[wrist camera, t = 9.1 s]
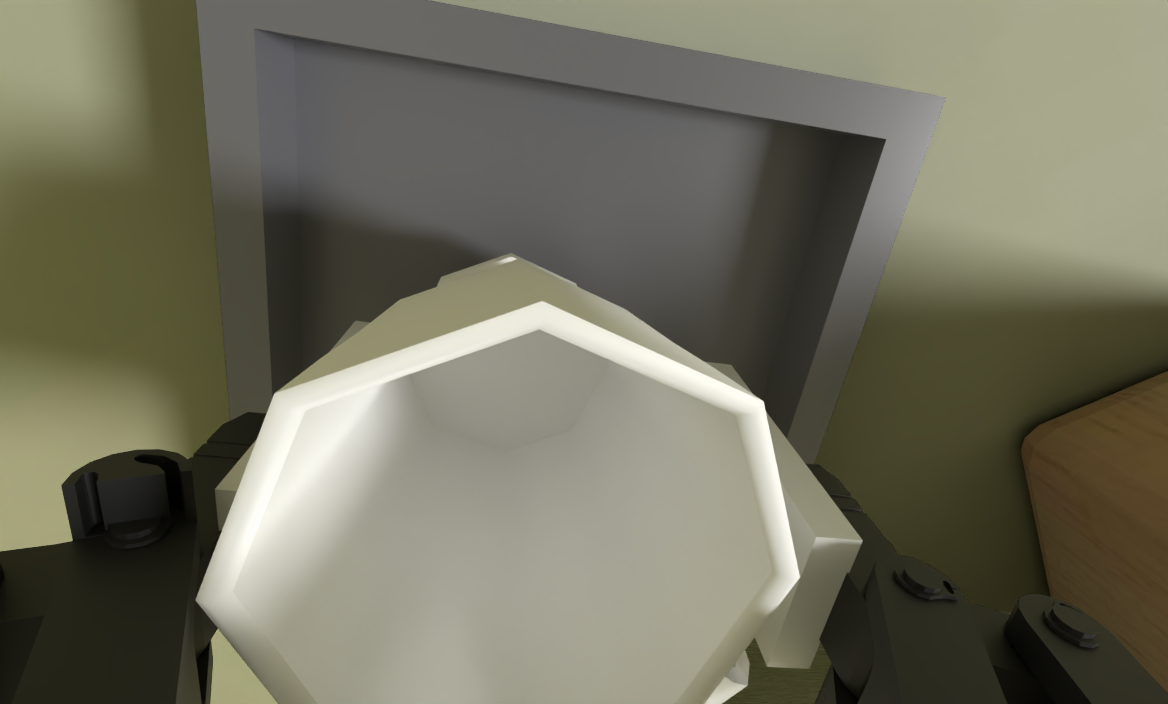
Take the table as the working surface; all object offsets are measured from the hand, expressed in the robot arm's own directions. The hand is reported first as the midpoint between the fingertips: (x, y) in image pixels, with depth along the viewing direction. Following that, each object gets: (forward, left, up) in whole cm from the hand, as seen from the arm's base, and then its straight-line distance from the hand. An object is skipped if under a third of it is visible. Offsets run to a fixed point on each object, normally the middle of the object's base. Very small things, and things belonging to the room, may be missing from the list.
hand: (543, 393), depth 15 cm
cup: (0, 0, 0) cm, 0 cm away
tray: (0, 0, -2) cm, 2 cm away
